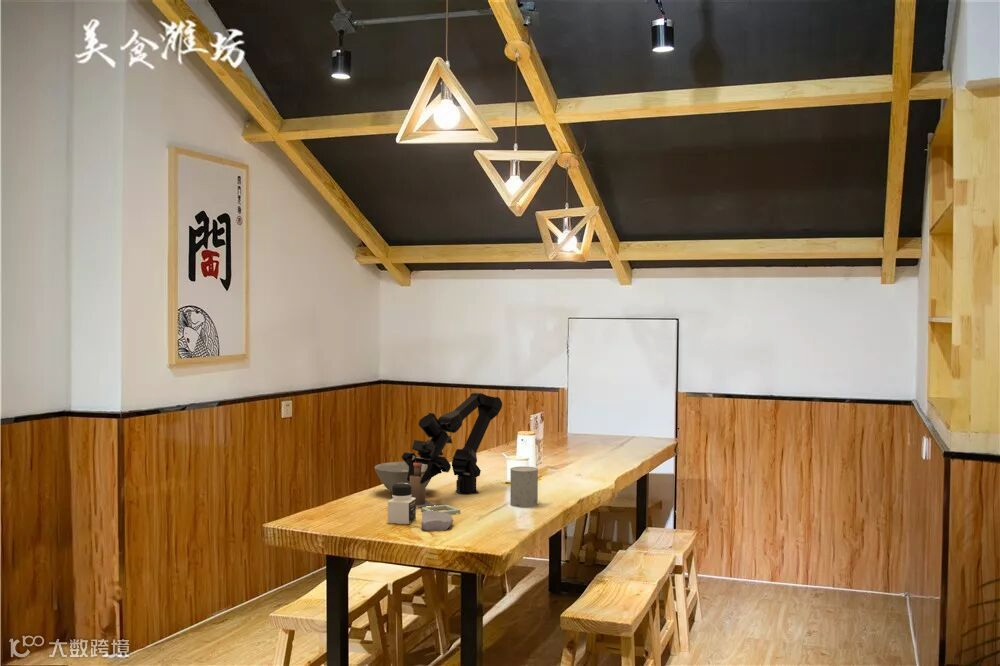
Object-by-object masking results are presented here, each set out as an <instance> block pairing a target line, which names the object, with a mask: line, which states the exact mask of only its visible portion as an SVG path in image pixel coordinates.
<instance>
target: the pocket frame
mask: <svg viewBox="0 0 1000 666" xmlns="http://www.w3.org/2000/svg"><path fill="white" fill-rule="evenodd" d="M437 509H443V510H442V511H441V510H439V512H445V513H448V514H453V515H457V514H456V513H460V514H461V509H459V508H456V507H454V506H452V505H448V504H439V505H437V506H431V507H423V508H420V512H422V511H423V512H425V511H432V510H435V511H438V510H437ZM446 509H448V510H446ZM423 512H422V513H423Z"/></svg>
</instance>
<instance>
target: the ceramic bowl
mask: <svg viewBox="0 0 1000 666" xmlns="http://www.w3.org/2000/svg"><path fill="white" fill-rule="evenodd" d="M427 466H428V465H426V464H422V466H421V475H424V473H425V471H426V469H427ZM374 471H375V472H376V474H377V476H378V478H379V480H380V482H381V483H382V484H383V486H384V487H385V488H386V489H387V490H388V492H390V493H392V486H393V485H394V484H397V483H408V484H410V481H407V477H408V471H409V466H408V465H407V464H406V462H405V461H404V460H403V461H402V460H401V461H394V462H393V461H392V462H383V463H380V464H379V463H378V464H376V465H374ZM431 479H432V478H430V479H429V480H427V481H426V482H425V489H427V487H428V485H429V483H430V482H431Z"/></svg>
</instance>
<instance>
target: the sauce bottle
mask: <svg viewBox="0 0 1000 666" xmlns="http://www.w3.org/2000/svg"><path fill="white" fill-rule="evenodd" d="M413 466H414V475H410V485H411V486H412V496H411V497H413V498H416V505H423V504H425V500H426V488H425V482H424V483H423V484H422V483H421V482H420V481H421V479H422V477H423V475H421V466H422V462H414V463H413Z"/></svg>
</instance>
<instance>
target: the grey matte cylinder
mask: <svg viewBox="0 0 1000 666" xmlns="http://www.w3.org/2000/svg"><path fill="white" fill-rule="evenodd" d="M538 471H539V468H538V467H534V466H514V467H511V468H510V488H509V489H510V490H509V491H510V493H509V494H510V497H509V498H510V500H509V502H510V504H509V505H510V506H511V507H516V508H534V507H537V506H538V505H539V502H538V501H539V500H538V498H539V497H538V496H539V495H538V494H539V493H538V491H539V490H538V489H539V488H538V486H539V485H538V484H539V482H538V481H539V479H538V478H539V474H538V473H539V472H538Z"/></svg>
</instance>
